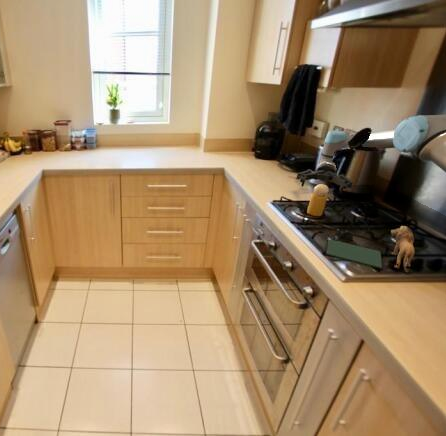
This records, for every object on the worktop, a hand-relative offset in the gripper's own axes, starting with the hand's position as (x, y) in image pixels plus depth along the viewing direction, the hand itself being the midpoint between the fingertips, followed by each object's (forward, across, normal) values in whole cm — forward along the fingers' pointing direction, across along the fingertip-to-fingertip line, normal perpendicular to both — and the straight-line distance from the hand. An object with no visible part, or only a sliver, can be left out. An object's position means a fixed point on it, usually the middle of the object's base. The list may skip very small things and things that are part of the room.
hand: (321, 186), depth 127 cm
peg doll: (+9, 0, -8) cm, 12 cm away
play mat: (+34, -13, -8) cm, 37 cm away
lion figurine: (+30, -24, -8) cm, 39 cm away
